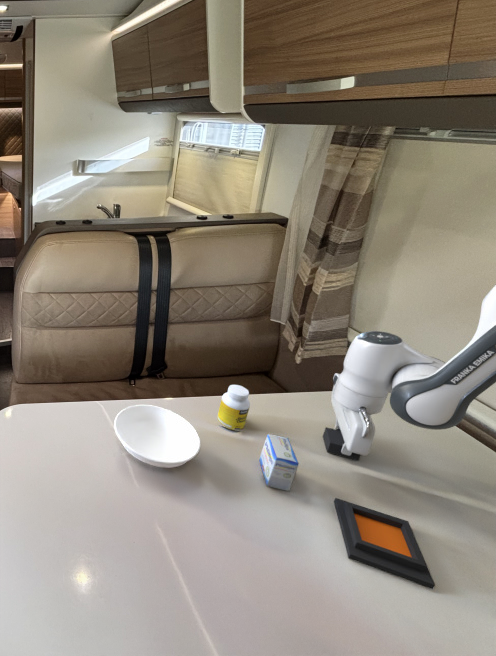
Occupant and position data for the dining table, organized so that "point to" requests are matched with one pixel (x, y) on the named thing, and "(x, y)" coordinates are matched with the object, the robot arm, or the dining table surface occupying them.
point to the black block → (336, 443)
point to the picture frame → (382, 542)
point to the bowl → (157, 435)
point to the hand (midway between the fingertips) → (341, 442)
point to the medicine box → (278, 462)
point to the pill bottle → (234, 408)
